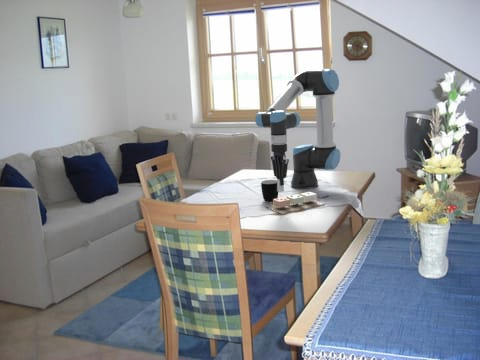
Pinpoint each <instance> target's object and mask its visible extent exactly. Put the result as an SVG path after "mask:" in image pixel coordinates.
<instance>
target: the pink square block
mask: <svg viewBox="0 0 480 360" xmlns="http://www.w3.org/2000/svg"><path fill="white" fill-rule="evenodd" d="M273 205H274V206H277V207H279V208H281V207H286V206H290V199H287V197H284V196H283V197H278V198H276V199H273V202H272V206H273Z"/></svg>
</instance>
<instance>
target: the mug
mask: <svg viewBox="0 0 480 360" xmlns="http://www.w3.org/2000/svg"><path fill="white" fill-rule="evenodd" d="M260 186H261V187H260V188H261V195H262V198H263V200H264V202H265V203H273V199H276V198H279V192H278V189H277V179H265V180H261V182H260Z"/></svg>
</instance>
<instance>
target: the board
mask: <svg viewBox="0 0 480 360" xmlns="http://www.w3.org/2000/svg"><path fill="white" fill-rule="evenodd" d="M320 206H321V207H322V206H325V203H323V202H320V201H317V200H314V201H309V202H306V201H304V203H300V204H295V205H293V204H290V206H286V207H281V208H279V207H277V206H274V205H273V204H272V205H269V206H267V207H268V208H270V209H269V210H271V209H273V210H275V211H277V212H276V213H278V212H279V213H278V214H281V215H284V214H285V215H286V214H288V213H292V212H299V211H303V210H306V209H307V210H308V209H312V208H315V207H316V208H317V207H320ZM268 208H267V209H268ZM273 210H272V211H273ZM275 211H274V212H275Z"/></svg>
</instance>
